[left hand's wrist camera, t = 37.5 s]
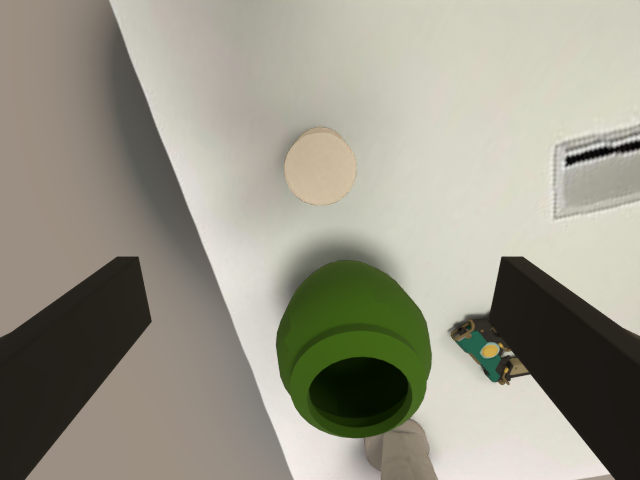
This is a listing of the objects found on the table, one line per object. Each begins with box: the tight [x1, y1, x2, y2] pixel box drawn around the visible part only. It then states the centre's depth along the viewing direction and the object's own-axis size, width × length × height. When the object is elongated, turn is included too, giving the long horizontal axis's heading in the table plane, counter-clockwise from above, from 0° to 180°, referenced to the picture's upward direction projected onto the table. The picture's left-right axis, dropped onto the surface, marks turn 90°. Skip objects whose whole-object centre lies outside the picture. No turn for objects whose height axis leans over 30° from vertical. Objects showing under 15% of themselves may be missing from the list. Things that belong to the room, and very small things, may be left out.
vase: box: [276, 260, 432, 438], centre depth 47 cm, size 20×20×24 cm
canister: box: [284, 127, 357, 205], centre depth 45 cm, size 8×8×13 cm
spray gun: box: [451, 319, 530, 385], centre depth 61 cm, size 4×17×15 cm
